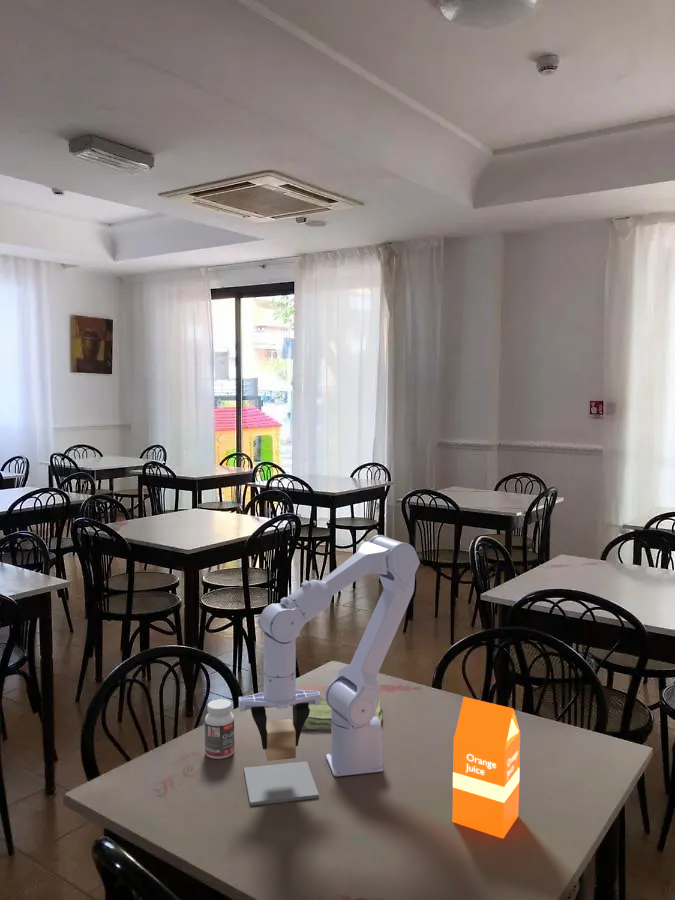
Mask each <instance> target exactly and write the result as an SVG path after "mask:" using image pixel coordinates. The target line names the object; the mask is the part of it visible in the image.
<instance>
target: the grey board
mask: <svg viewBox="0 0 675 900" xmlns="http://www.w3.org/2000/svg"><path fill="white" fill-rule="evenodd" d="M243 773H244V779H245V784H246V790H247V797H248V800H249V801H248V802H249V806H250V807H251V806H253V807H254V806H261V805H268V804H277V803H285V802H293V801H294V802H296V801H303V800H312V799H320V794H319V792H318V788H317V785H316V782H315V779H314V777H313V774H312V772H311V769H310V765H309V763H308V761H296V762H287V763H278V764H276V763H275V764H268V765H267V764H266V765H258V766H247V767H243Z"/></svg>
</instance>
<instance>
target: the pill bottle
mask: <svg viewBox="0 0 675 900" xmlns="http://www.w3.org/2000/svg"><path fill="white" fill-rule="evenodd" d="M206 709H207V712H208V713H207V714H206V715H205V719H204V753H205V755H206V756H207V757H208V758H210V759H215V760H220V759H221V760H222V759H225V758H229V757H230V756H232V755H233V754H234V752H235V716H234V713H232V709H233V706H232V701H231V700H229V699H224V698H221V699H220V698H219V699H213V700H210V701H209V702H208V703H207V708H206Z"/></svg>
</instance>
